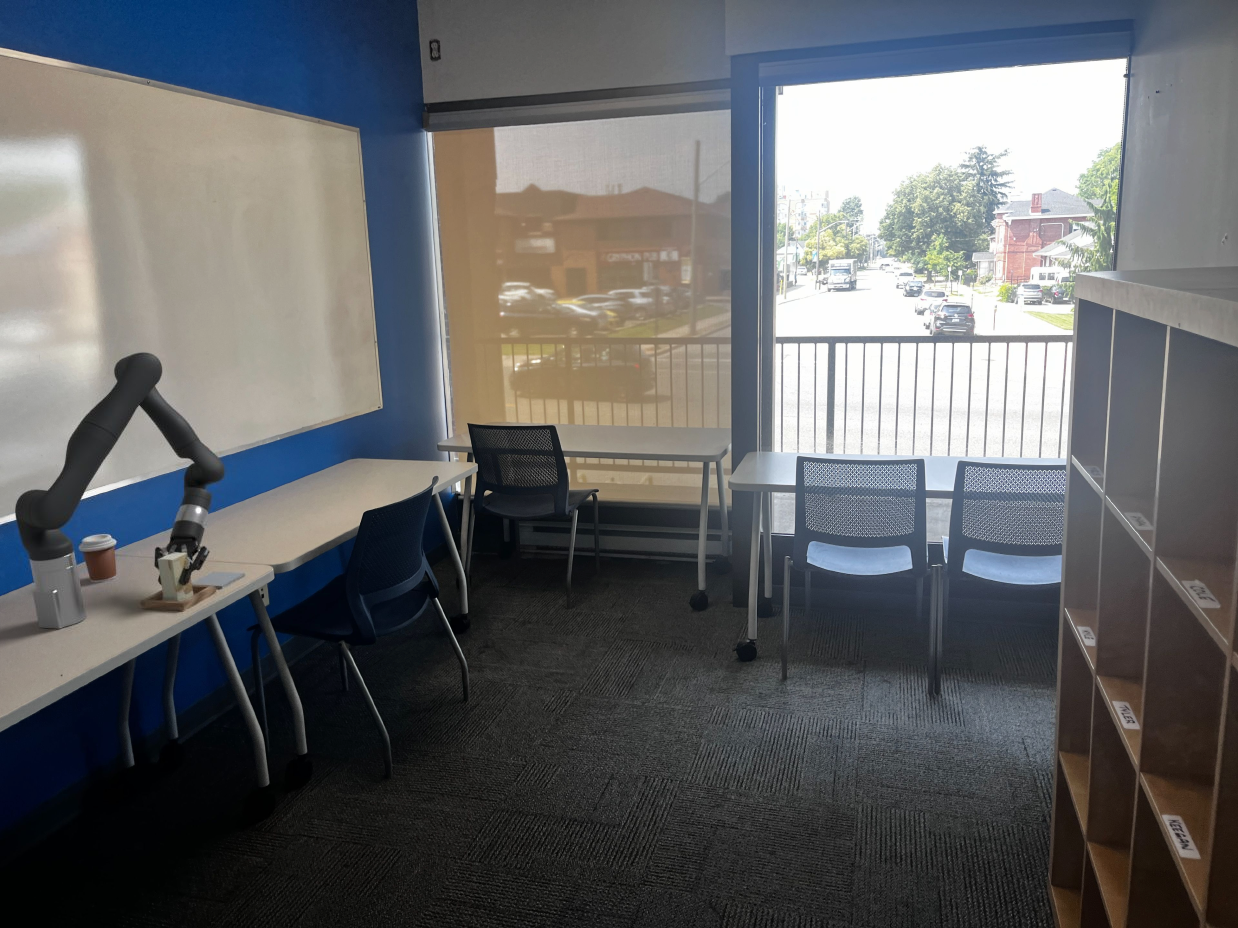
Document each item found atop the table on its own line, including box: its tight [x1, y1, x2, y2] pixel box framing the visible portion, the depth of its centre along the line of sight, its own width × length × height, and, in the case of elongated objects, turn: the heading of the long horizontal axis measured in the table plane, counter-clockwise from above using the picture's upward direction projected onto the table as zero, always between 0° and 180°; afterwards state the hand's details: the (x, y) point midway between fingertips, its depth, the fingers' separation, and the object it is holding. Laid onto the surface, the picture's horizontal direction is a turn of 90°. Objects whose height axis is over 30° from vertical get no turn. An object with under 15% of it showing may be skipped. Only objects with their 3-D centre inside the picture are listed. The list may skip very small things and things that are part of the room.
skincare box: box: [158, 552, 194, 601], centre depth 228 cm, size 6×4×12 cm
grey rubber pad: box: [192, 570, 246, 589], centre depth 242 cm, size 10×10×1 cm
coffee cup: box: [78, 533, 118, 584], centre depth 246 cm, size 9×9×12 cm
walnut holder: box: [140, 584, 217, 612], centre depth 229 cm, size 12×12×2 cm
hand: (172, 584), depth 226 cm, fingers closed on skincare box, 5 cm apart
